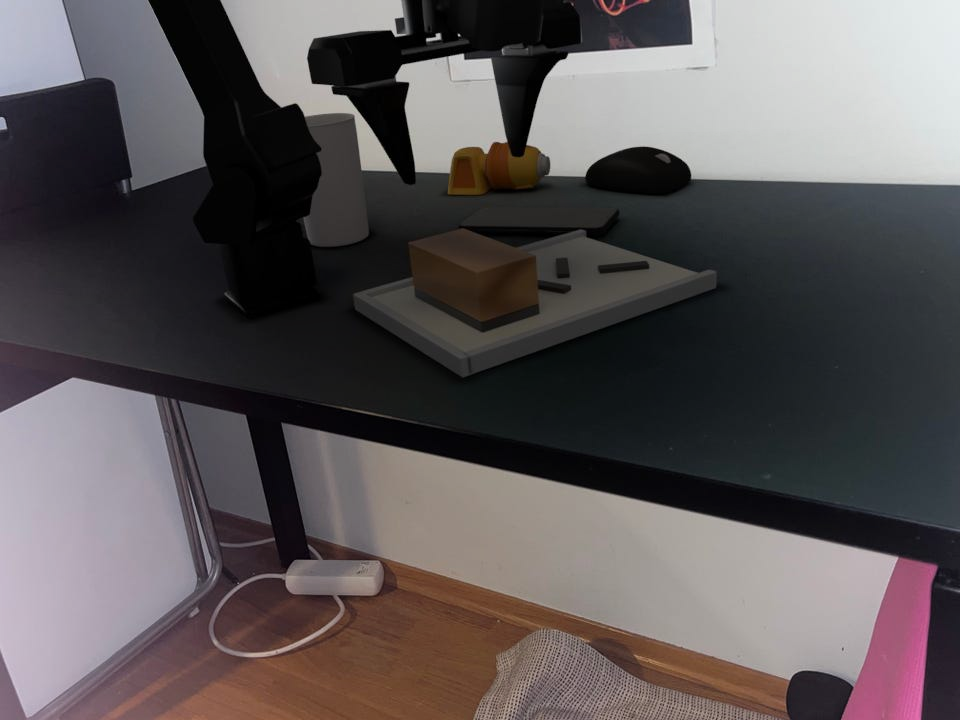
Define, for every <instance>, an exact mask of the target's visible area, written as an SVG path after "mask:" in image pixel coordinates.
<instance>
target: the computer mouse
mask: <svg viewBox="0 0 960 720" xmlns="http://www.w3.org/2000/svg"><path fill="white" fill-rule="evenodd" d="M691 180H692V171H691V169H690V167H689V165H688V163H687V162H686V161H684V160H683V159H681V158H680V157H679V156H677V155H675V154H674V153H671V152H669V151H667V150H664V149H661V148H657V147H652V146H633V147H632V146H631V147H628V148H624V149H620V150H617V151H615V152H613V153H610V154H607V155H606V156H603V157H601V158H599V159H597V160H596V161H595V162H593V163H592V164H591V165H590V166H589V167H588V169H587V170H586V173H585V176H584V181H585V183H586V184H587V185H588V186H590V187H595V188H601V189H606V190H614V191H624V192H632V193H633V192H634V193H643V194H655V195H656V194H660V195H661V194H667V193H669V192H673V191H676V190H677V189H679V188H681V187H683V186H685V185H687V184H688V183H689V182H690V181H691Z"/></svg>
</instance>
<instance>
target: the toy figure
mask: <svg viewBox="0 0 960 720" xmlns="http://www.w3.org/2000/svg"><path fill="white" fill-rule="evenodd" d="M449 170H450V171H449V177H448V178H449V179H448V187H447V195H455V196H457V195H461V196H462V195H463V196H479V195H483V194H485V193H487V192H488V191H490V190H491V189H494V190H499V189H505V190H513V189H514V190H515V191H519V190H527V189H533V188H535V186H536V185H537V184H538V183H539V182H540V181H541V180H542V179H544V178H545V176H549V175H550V172H551V158H550V156H549V155H548V156H547V155H546V154H545V153H543V152H541V150H540V149H539V148H538V147H536V146H534V145H529V144H527V145H526V149H525V153H524V156H523V157H519V158H518V157H513V156H512V155H511V152H510V149H509V145H508V142H507V141H505V142H500V141H493V142H492V143H491V146H490V147H489V149H488V152H487V153H485V151H484V149H483V148H482V147H480V146H467V147H462V148H459V149H458V150H456V151H455V152H454V153H453V155H452V158H451V162H450V169H449Z"/></svg>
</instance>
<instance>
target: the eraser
mask: <svg viewBox="0 0 960 720" xmlns="http://www.w3.org/2000/svg"><path fill="white" fill-rule="evenodd" d="M407 245H408V252H409V260H410V268H411V275H412V276H411V277H413V284H414V287H415V288H414V292H415V297H417V298H419V299H421V300H422V301H424V302H426V303H428V304H430V305H432V306H434V307H435V308H437V309H439V310H441V311H443V312H445V313H447V314H449V315H450V316H452V317H454V318H456V319H458V320H460V321H462V322H463V323H465V324H467V325H469V326H471V327H473V328H475V329H477V330H478V331H480V332H486V331H489V330H492V329H495V328H498V327H501V326H504V325H507V324H510V323H513V322H516V321H519V320H522V319H525V318H528V317H531V316H534V315H537V314H539V296H538V280H537V264H536V255H534V254H531V253H528V252H526V251H523V250H520V249H517V247H514V246H512V245H509V244H507V243H504V242H501V241H498V240H496V239H494V238H491V237H487V236H485V235H482V234H481V233H480V234H479V233H478V232H472V231H469V230H466V229H464V228H462V229H454V230H451V231H447V232H443V233H439V234H436V235H431V236H428V237H424V238H420V239H417V240H416V239H415V240H413V241H409V242H408V244H407Z"/></svg>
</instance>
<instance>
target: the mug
mask: <svg viewBox="0 0 960 720" xmlns="http://www.w3.org/2000/svg"><path fill="white" fill-rule="evenodd" d="M305 120H306V123H307V126H308V129H309V131H310V133H311V135H312V137H313V138H314V140H315V141H316V142H317V144H318V145H319V146H320V147H321V148H322V150H321V151H320V152H318V153H316V154H317V156H318V158H319V161H320V164H321V171H322V176H321V177H320V179H319V183H318V187H317V189H316V191H315V192H314V194H313V196H312V203H311V210H310V215H308V216H306V217H302V218H303V223H304V227H305V228H304V229H305V232H306V236H307V237H306V238H307V239H309V240H310V245H311V246H314V247H319V248H335V247H336V248H337V247H343V246H348V245H352V244H355V243H356V244H357V243H359V242H362V241H363V240H365V239H367V238H368V237H369V234H370V230H369V220H368V211H367V202H366V195H365V187H364V186H365V185H364V179H363V171H362V163H361V155H360V146H359V138H358V131H357V125H356V116H355V115H354V114H353V113H349V112H333V113H331V112H330V113H321V114H320V113H319V114H312V115H307V116H305Z"/></svg>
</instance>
